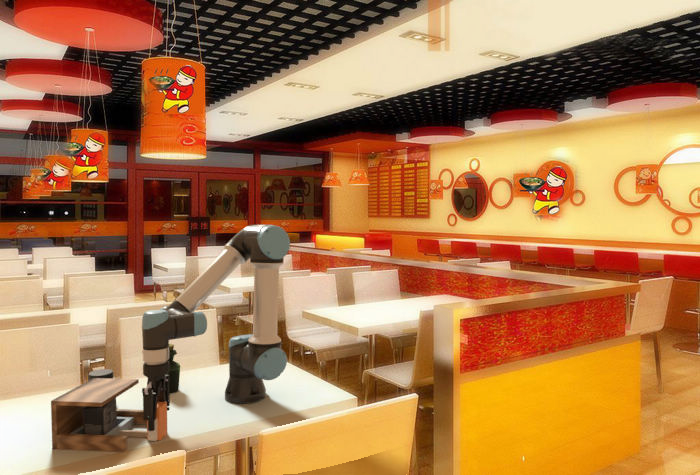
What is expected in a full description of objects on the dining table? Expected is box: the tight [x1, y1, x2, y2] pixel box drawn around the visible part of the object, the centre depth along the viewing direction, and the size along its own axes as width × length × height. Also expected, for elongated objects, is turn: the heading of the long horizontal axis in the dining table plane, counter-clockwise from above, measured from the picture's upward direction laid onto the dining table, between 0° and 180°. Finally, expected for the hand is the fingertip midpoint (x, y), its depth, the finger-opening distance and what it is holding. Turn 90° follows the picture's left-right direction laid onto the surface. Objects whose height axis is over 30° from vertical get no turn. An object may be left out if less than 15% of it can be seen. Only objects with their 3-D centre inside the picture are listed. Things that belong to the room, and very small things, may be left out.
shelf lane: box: [50, 378, 147, 453], centre depth 157 cm, size 22×21×14 cm
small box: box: [83, 397, 117, 435], centre depth 158 cm, size 11×6×10 cm, turn 5°
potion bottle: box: [166, 343, 181, 395], centre depth 196 cm, size 8×8×18 cm
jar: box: [87, 368, 116, 381], centre depth 182 cm, size 9×8×12 cm
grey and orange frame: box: [70, 402, 168, 442], centre depth 157 cm, size 27×16×10 cm, turn 85°
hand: (157, 435), depth 156 cm, fingers closed on grey and orange frame, 5 cm apart
